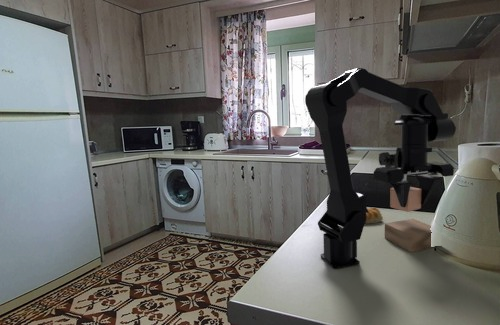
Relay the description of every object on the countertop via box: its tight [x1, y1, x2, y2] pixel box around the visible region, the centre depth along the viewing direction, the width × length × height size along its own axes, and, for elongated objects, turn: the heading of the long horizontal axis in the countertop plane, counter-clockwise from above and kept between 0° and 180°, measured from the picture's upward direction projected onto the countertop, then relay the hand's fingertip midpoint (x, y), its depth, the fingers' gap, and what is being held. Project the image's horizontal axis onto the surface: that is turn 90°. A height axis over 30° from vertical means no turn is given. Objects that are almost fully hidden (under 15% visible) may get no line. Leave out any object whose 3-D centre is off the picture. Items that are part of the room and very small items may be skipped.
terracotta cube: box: [389, 186, 422, 213], centre depth 75 cm, size 5×5×5 cm
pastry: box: [364, 207, 384, 225], centre depth 91 cm, size 9×7×4 cm
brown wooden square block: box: [384, 218, 432, 253], centre depth 74 cm, size 9×9×4 cm
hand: (412, 205), depth 73 cm, fingers closed on terracotta cube, 5 cm apart
